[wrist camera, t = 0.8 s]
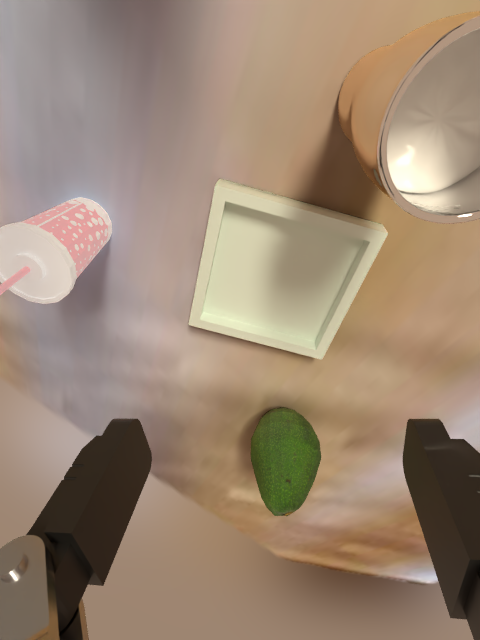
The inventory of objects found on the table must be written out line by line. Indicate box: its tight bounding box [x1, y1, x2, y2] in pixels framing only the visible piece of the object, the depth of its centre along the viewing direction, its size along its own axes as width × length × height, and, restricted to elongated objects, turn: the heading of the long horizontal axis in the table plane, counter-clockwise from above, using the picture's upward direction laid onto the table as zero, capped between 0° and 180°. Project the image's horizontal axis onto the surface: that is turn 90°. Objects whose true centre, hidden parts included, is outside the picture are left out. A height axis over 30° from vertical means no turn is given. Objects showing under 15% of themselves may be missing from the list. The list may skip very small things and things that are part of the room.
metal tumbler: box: [338, 11, 480, 224], centre depth 18 cm, size 7×7×15 cm
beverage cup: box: [0, 197, 112, 304], centre depth 26 cm, size 6×6×14 cm
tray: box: [189, 178, 388, 360], centre depth 32 cm, size 14×14×2 cm
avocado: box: [251, 407, 321, 516], centre depth 40 cm, size 8×8×12 cm
